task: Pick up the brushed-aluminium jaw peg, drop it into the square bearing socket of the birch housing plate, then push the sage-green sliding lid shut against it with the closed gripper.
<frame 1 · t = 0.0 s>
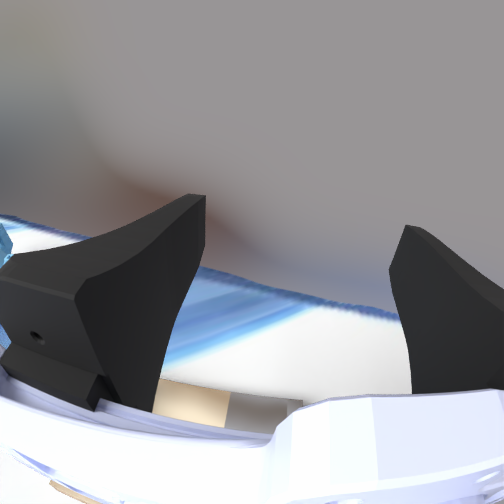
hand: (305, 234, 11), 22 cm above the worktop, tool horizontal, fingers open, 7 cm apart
housing: (201, 463, 22), on the worktop
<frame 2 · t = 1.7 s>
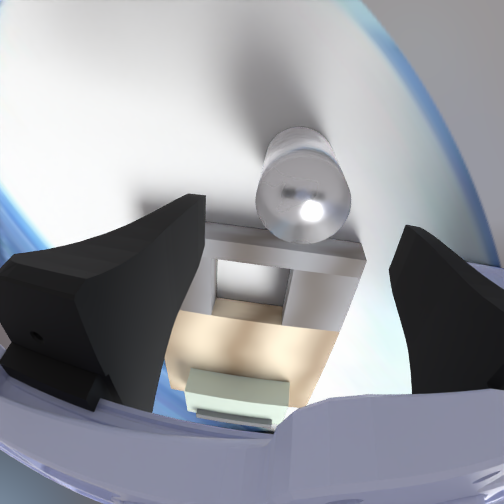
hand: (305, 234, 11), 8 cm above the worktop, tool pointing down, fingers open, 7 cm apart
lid: (236, 401, 27), point 4 cm above the worktop, slide at 5.0 cm
housing: (248, 314, 25), on the worktop
jaw peg: (300, 159, 18), on the worktop
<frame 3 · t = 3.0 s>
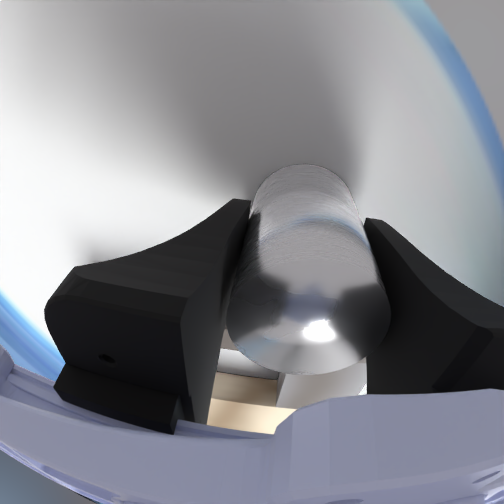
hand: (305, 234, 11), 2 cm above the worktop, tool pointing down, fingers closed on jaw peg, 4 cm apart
housing: (235, 385, 20), on the worktop
jaw peg: (303, 212, 12), on the worktop, touching gripper
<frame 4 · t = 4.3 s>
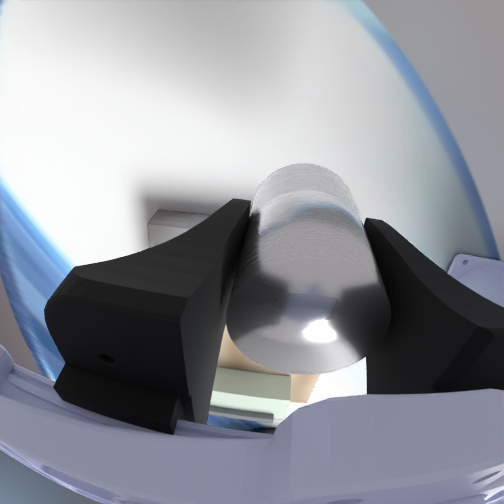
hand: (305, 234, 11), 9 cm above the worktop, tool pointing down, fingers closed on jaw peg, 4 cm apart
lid: (238, 395, 27), point 4 cm above the worktop, slide at 5.0 cm
housing: (249, 308, 26), on the worktop
jaw peg: (303, 212, 12), point 7 cm above the worktop, touching gripper
when the fingers open (5 cm above the worktop, at t = 5.9 s): jaw peg drops 4 cm, resting in housing.
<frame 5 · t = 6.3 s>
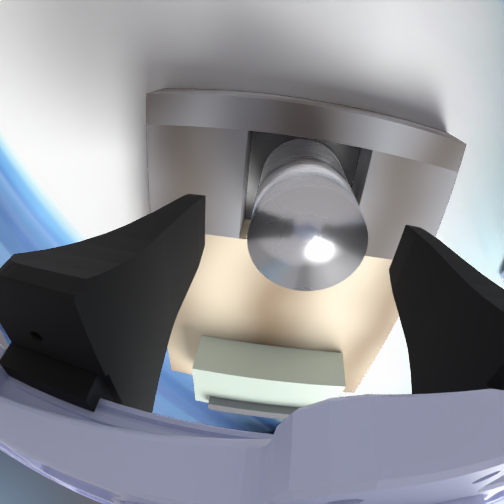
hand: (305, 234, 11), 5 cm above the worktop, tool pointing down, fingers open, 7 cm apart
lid: (267, 383, 19), point 4 cm above the worktop, slide at 5.0 cm
housing: (289, 247, 18), on the worktop
jaw peg: (302, 178, 15), resting in housing
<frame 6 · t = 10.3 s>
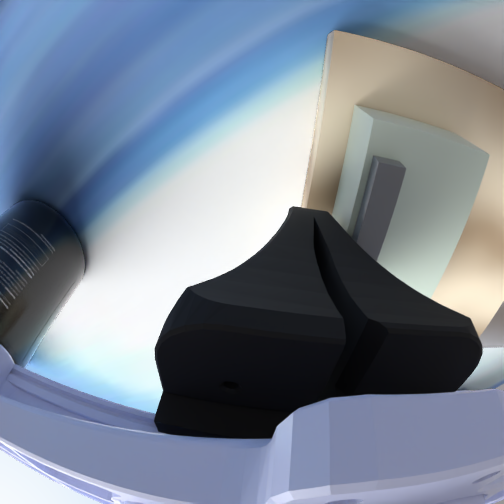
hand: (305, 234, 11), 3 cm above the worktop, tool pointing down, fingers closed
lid: (388, 250, 11), point 4 cm above the worktop, slide at 5.0 cm, touching gripper
supplement bottle: (48, 242, 17), on the worktop
housing: (495, 232, 13), on the worktop
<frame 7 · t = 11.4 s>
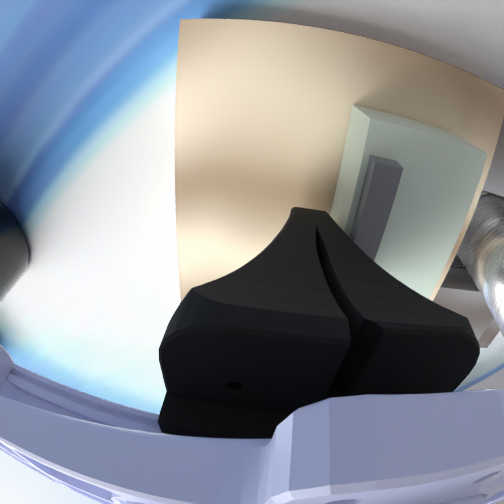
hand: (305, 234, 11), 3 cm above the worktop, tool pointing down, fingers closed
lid: (386, 250, 11), point 4 cm above the worktop, slide at 0.0 cm, touching gripper
supplement bottle: (1, 234, 18), on the worktop
housing: (422, 215, 14), on the worktop
jaw peg: (482, 229, 13), resting in housing
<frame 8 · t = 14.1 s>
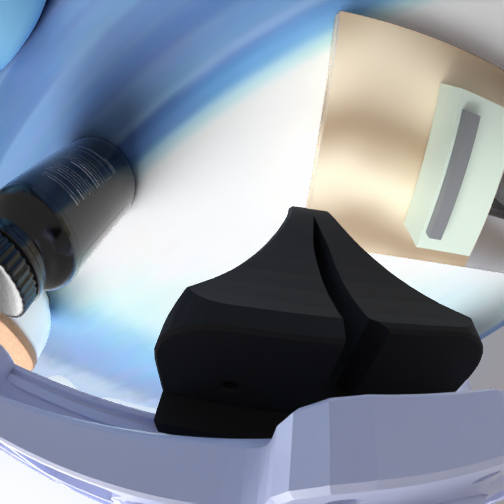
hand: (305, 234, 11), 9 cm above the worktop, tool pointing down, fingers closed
teapot: (4, 3, 12), on the worktop
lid: (463, 174, 14), point 4 cm above the worktop, slide at 0.0 cm
supplement bottle: (99, 178, 21), on the worktop
lidded jar: (30, 289, 30), on the worktop
housing: (472, 164, 17), on the worktop
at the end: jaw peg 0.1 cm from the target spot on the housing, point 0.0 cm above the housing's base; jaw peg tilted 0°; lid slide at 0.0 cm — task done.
